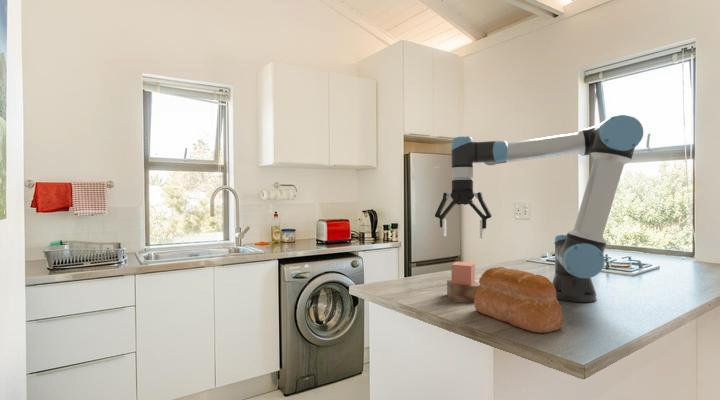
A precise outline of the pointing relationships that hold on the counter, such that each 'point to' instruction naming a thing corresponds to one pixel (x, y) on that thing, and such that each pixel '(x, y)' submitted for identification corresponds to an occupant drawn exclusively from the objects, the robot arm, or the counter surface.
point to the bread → (519, 299)
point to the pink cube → (463, 273)
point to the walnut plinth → (461, 292)
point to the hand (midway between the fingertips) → (462, 237)
